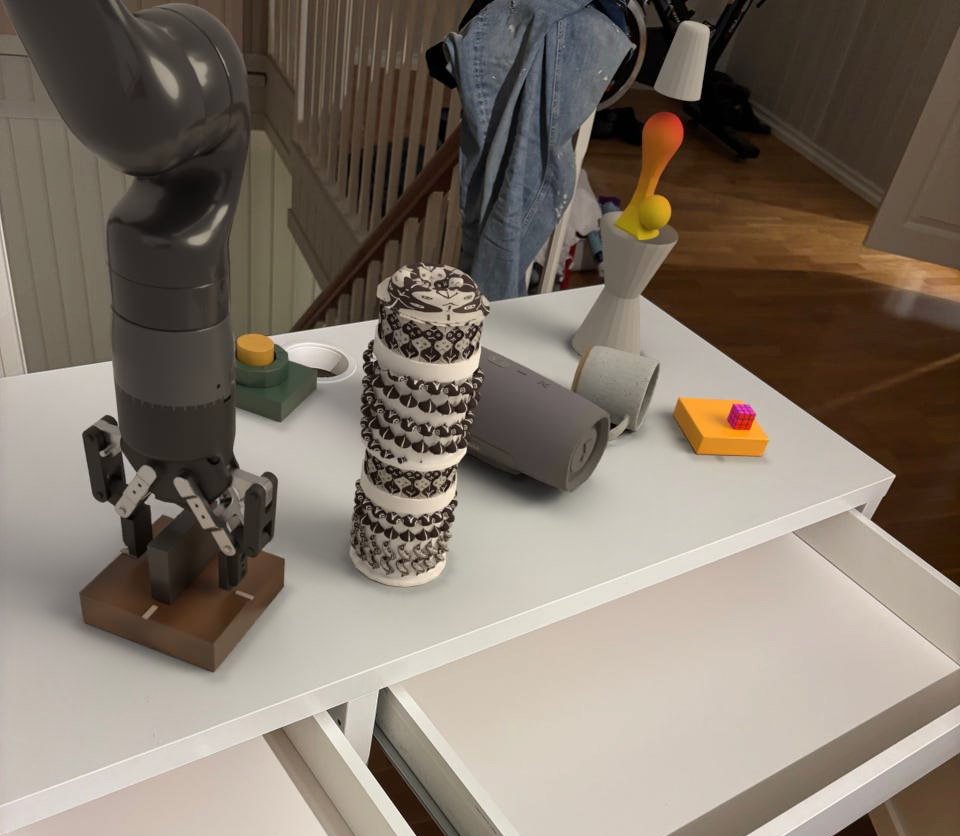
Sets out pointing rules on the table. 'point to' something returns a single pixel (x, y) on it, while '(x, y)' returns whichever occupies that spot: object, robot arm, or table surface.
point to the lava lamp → (644, 207)
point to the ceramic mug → (617, 385)
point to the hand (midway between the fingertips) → (186, 566)
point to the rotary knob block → (181, 606)
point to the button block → (273, 385)
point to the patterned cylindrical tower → (416, 421)
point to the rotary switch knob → (179, 555)
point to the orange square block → (720, 426)
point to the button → (255, 349)
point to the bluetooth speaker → (535, 425)
